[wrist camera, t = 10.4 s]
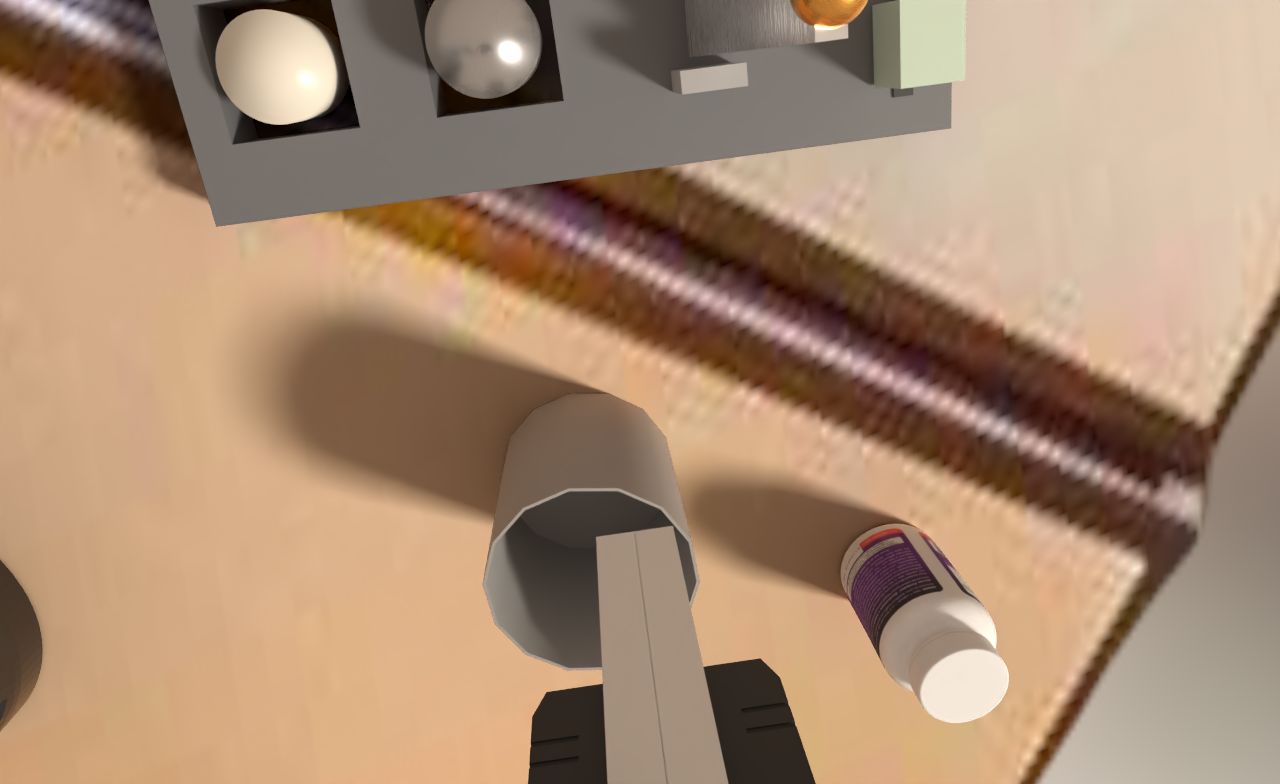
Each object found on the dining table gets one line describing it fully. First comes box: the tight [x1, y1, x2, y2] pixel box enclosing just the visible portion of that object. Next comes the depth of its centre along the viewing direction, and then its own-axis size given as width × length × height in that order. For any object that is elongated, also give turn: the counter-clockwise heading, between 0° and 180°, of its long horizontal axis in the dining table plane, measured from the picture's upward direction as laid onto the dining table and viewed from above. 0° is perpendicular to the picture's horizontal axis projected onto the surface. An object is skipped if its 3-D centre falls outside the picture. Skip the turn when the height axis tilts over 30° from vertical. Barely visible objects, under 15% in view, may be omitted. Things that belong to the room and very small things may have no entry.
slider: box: [872, 0, 966, 89], centre depth 32 cm, size 2×3×3 cm
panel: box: [149, 0, 952, 227], centre depth 33 cm, size 30×11×6 cm, turn 97°
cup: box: [483, 393, 700, 670], centre depth 38 cm, size 8×8×10 cm
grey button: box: [425, 0, 542, 99], centre depth 32 cm, size 4×4×4 cm
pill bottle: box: [841, 524, 1009, 723], centre depth 42 cm, size 5×5×10 cm
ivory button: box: [215, 9, 350, 125], centre depth 34 cm, size 4×4×4 cm
